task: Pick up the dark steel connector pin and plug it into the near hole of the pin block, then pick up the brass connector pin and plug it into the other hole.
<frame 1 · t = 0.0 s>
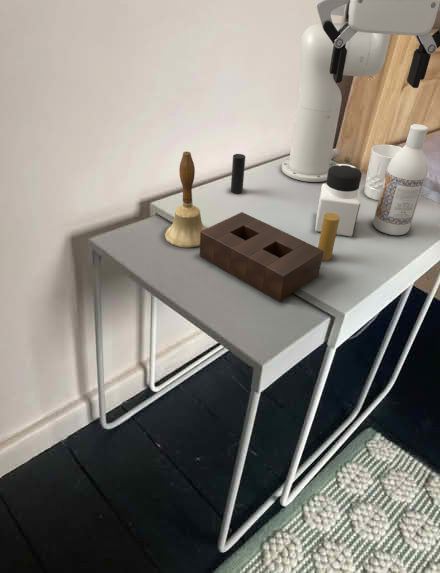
hand: (374, 82, 64), 31 cm above the table, tool pointing down, fingers open, 9 cm apart
brass pin: (323, 256, 88), on the table
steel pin: (236, 191, 108), on the table
bath foam: (390, 228, 98), on the table
white cup: (379, 195, 110), on the table
pin block: (258, 266, 84), on the table
medicine bottle: (333, 226, 97), on the table
hand bell: (187, 237, 91), on the table
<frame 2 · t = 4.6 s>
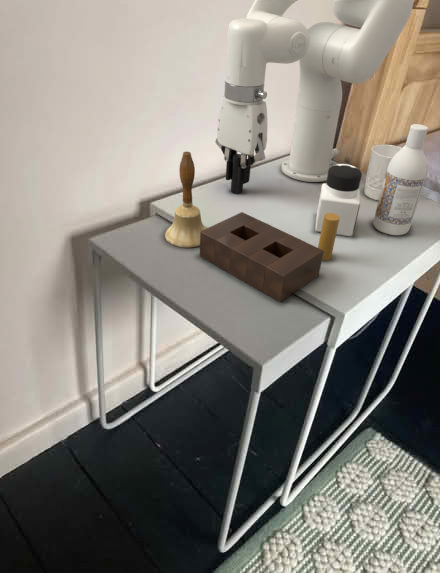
hand: (237, 180, 106), 3 cm above the table, tool pointing down, fingers closed on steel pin, 2 cm apart
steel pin: (236, 191, 108), on the table, touching gripper
everything else where it was.
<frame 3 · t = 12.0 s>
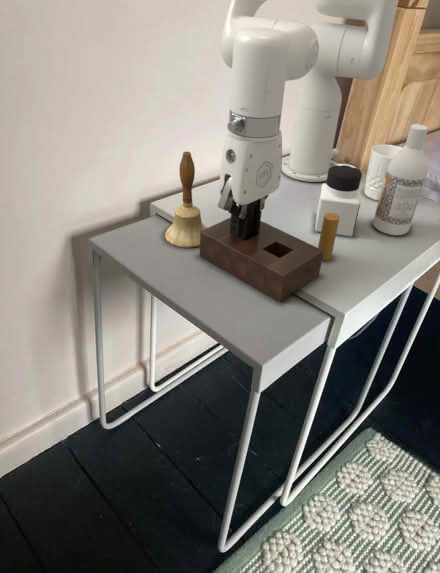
hand: (244, 231, 83), 5 cm above the table, tool pointing down, fingers closed on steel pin, 2 cm apart
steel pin: (243, 244, 85), point 3 cm above the table, touching gripper
everything else where it was.
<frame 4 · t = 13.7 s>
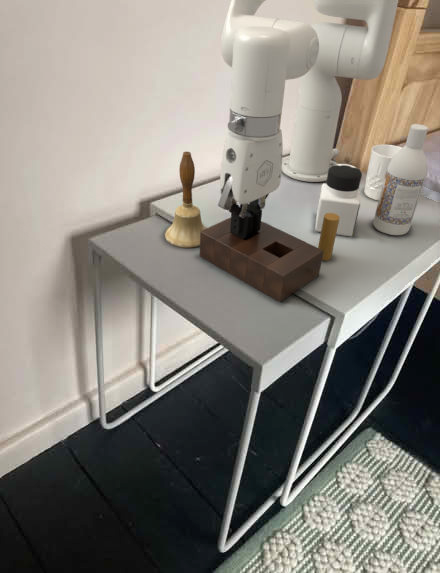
hand: (245, 230, 83), 5 cm above the table, tool pointing down, fingers closed on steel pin, 2 cm apart
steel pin: (242, 254, 86), point 1 cm above the table, touching gripper
everything else where it was.
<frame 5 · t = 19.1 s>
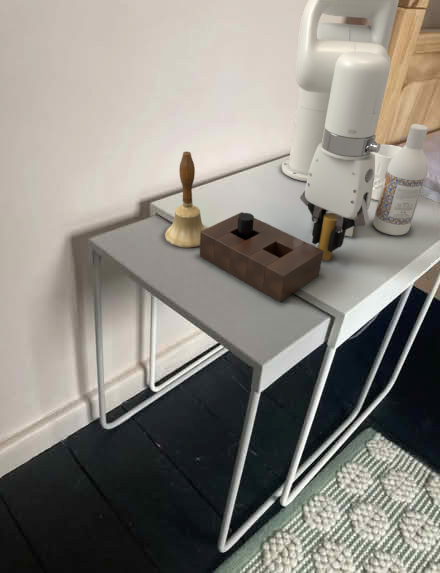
hand: (326, 244, 86), 3 cm above the table, tool pointing down, fingers closed on brass pin, 2 cm apart
brass pin: (323, 256, 88), on the table, touching gripper
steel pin: (242, 257, 87), resting in pin block
everything else where it was.
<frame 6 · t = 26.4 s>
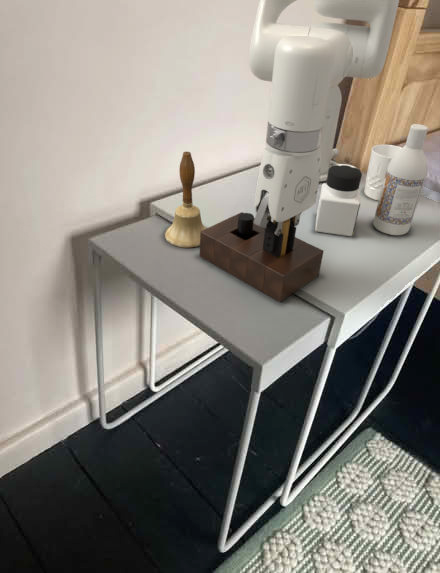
hand: (277, 248, 79), 5 cm above the table, tool pointing down, fingers closed on brass pin, 2 cm apart
brass pin: (275, 262, 81), point 3 cm above the table, touching gripper
everything else where it was.
when the fingers open (5 cm above the table, at t = 27.6 s): brass pin drops 2 cm, resting in pin block.
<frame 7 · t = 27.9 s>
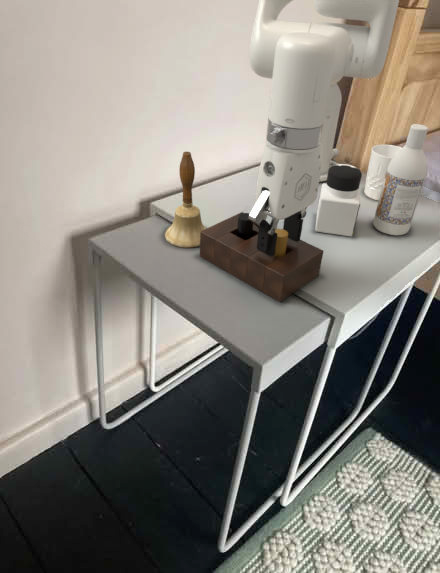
hand: (278, 244, 79), 6 cm above the table, tool pointing down, fingers open, 5 cm apart
brass pin: (274, 274, 83), resting in pin block
everything else where it was.
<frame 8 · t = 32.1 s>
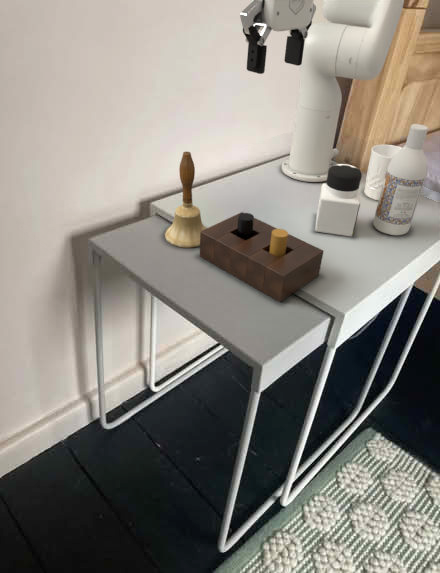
hand: (274, 67, 80), 28 cm above the table, tool pointing down, fingers open, 9 cm apart
nothing on the table moved.
at the end: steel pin 0.1 cm from the target spot in the pin block, point 0.0 cm above the pin block's base; brass pin 0.1 cm from the target spot in the pin block, point 0.0 cm above the pin block's base; brass pin tilted 0° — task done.
